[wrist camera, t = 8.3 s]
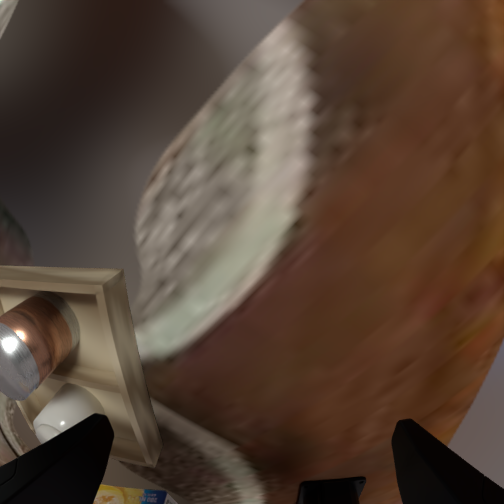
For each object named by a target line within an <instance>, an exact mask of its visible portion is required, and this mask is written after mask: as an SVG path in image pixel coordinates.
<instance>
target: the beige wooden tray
mask: <svg viewBox="0 0 504 504" xmlns="http://www.w3.org/2000/svg"><path fill="white" fill-rule="evenodd" d="M40 291H50V292H53V293H55V294H57V295H58V296H60V297H61V298H63V299H64V300H65V301H66V302H67V303H68V305H69V306H70V307H71V308H72V310H73V312H74V313H75V315H76V317H77V320H78V323H79V326H80V341H79V343H78V345H77V346H76V347H75V348H74V349H73V350H72V351H71V352H70V354H69V355H68V356H67V358H66V359H65V360H64V361H63V362H62V363H61V364H60V365H59V366H58V367H57V368H56V369H55V370H54V371H53V372H52V373H51V374H50V375H49V376H48V377H47V378H46V379H45V380H44V382H43V383H42V384H41V385H40V386H39V387H38V388H37V389H36V390H34V391H33V392H32V393H31V394H30V395H29V396H28V398H27V399H25V400H23V401H17V400H16V402H17V404H18V406H19V408H20V409H21V412H22V414H23V416H24V417H25V419H26V421H27V423H28V425H29V427H30V428H31V430H32V432H33V433H35V434H36V431H35V429H34V426H33V421H34V420H35V418H36V417H37V416H38V415H39V413H40V412H41V411H42V410H43V409H44V407H45V406H46V405H47V404H48V402H49V401H50V400H51V399H52V398H53V396H54V395H55V394H56V393H57V392H58V390H59V389H60V388H61V387H62V386H63V385H64V384H67V383H71V384H76V385H79V386H81V387H83V388H85V389H87V390H88V391H89V392H91V393H92V394H93V395H94V396H95V397H96V398H97V399H98V400H99V401H100V403H101V404H102V406H103V408H104V411H105V415H106V416H107V417H108V419H109V421H110V423H111V426H112V428H113V430H114V441H113V444H112V448H111V452H110V455H109V458H112V459H115V460H119V461H123V462H127V463H132V464H136V465H141V466H146V467H151V468H155V466H156V463H157V460H158V458H159V455H160V452H161V450H162V447H163V442H162V439H161V436H160V432H159V429H158V426H157V422H156V419H155V415H154V412H153V408H152V405H151V401H150V397H149V394H148V390H147V386H146V382H145V378H144V374H143V370H142V366H141V361H140V357H139V352H138V348H137V343H136V338H135V334H134V329H133V323H132V318H131V313H130V307H129V302H128V296H127V289H126V283H125V277H124V270H123V269H103V268H59V267H28V266H0V316H1V315H3V314H4V313H6V312H7V311H9V310H10V309H12V308H13V307H15V306H16V305H18V304H19V303H21V302H23V301H24V300H26V299H27V298H29V297H32V296H33V295H35V294H37V293H38V292H40Z"/></svg>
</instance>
